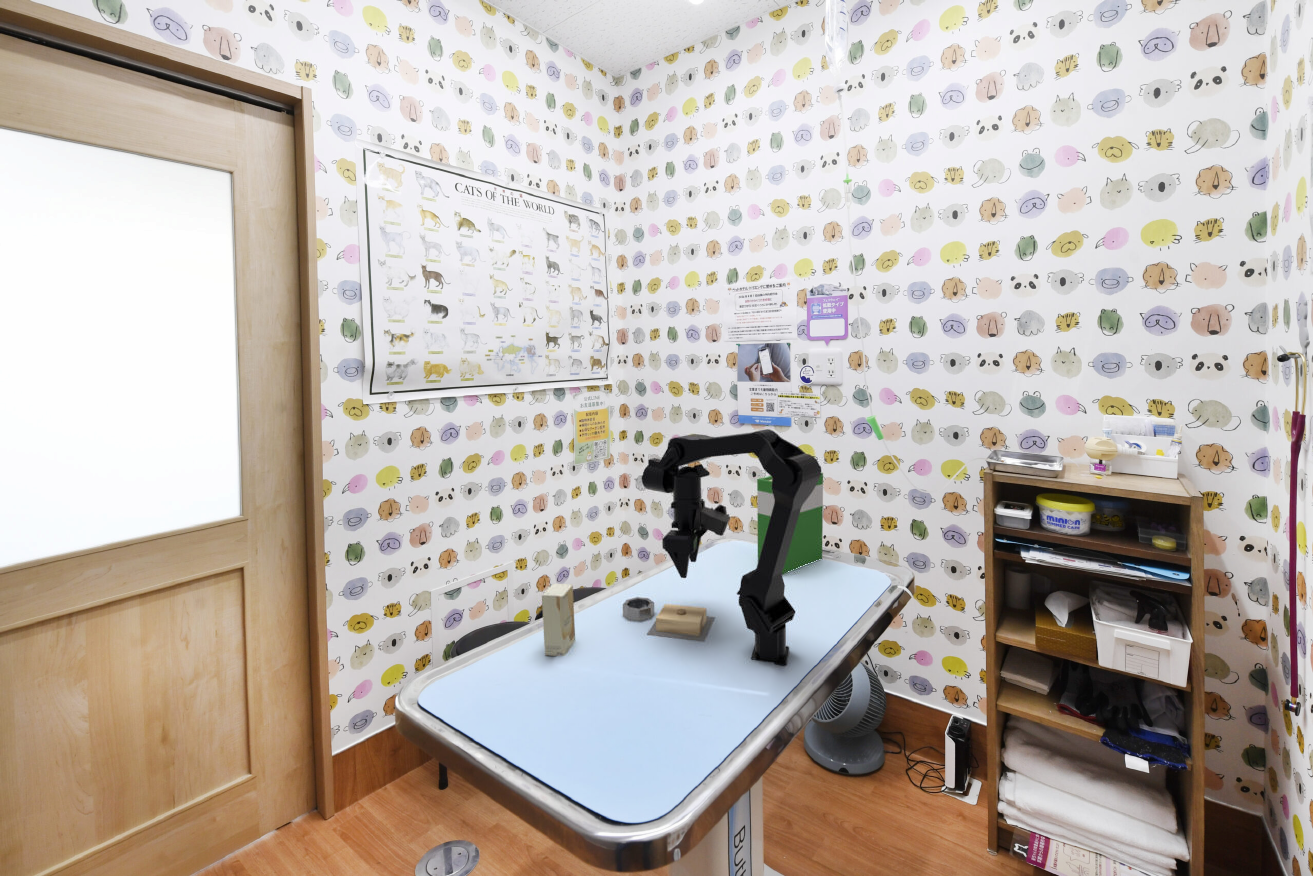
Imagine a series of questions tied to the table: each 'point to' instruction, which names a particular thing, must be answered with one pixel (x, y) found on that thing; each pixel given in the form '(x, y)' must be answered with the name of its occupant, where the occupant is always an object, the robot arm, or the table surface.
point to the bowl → (638, 609)
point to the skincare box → (558, 619)
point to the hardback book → (807, 528)
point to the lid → (681, 619)
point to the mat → (684, 636)
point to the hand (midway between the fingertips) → (688, 569)
